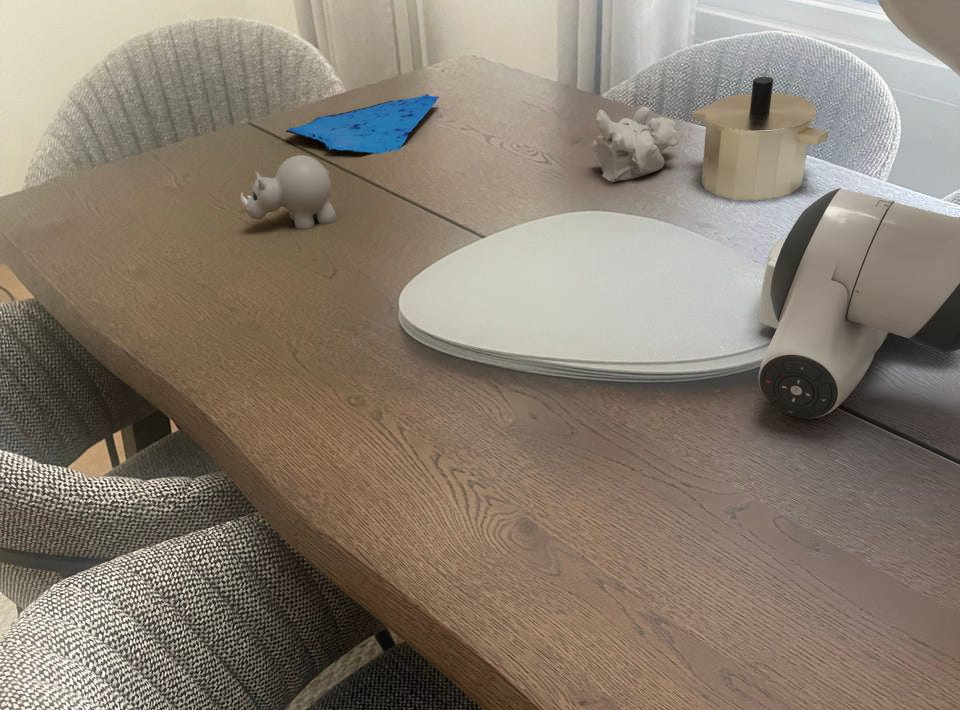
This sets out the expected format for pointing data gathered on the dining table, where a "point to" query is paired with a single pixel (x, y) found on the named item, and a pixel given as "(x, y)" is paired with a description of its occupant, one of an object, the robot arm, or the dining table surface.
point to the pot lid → (760, 111)
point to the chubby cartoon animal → (294, 193)
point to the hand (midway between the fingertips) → (887, 247)
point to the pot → (755, 161)
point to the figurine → (632, 144)
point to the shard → (369, 126)
